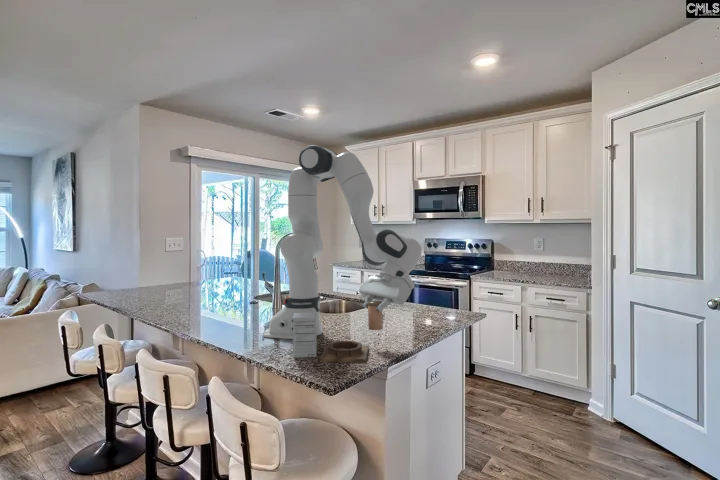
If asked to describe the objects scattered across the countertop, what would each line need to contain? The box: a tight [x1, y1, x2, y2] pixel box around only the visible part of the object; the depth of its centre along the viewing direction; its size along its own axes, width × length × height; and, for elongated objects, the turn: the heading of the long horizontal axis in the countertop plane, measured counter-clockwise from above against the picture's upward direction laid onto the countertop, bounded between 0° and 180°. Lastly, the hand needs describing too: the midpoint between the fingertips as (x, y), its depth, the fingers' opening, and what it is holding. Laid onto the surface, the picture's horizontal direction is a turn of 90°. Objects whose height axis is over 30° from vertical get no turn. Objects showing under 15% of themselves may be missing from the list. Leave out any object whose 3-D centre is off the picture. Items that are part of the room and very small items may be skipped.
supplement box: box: [292, 313, 318, 359], centre depth 125 cm, size 7×7×13 cm
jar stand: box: [318, 340, 370, 364], centre depth 124 cm, size 14×14×3 cm
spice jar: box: [367, 300, 384, 331], centre depth 131 cm, size 5×5×9 cm
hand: (371, 308), depth 130 cm, fingers closed on spice jar, 5 cm apart
